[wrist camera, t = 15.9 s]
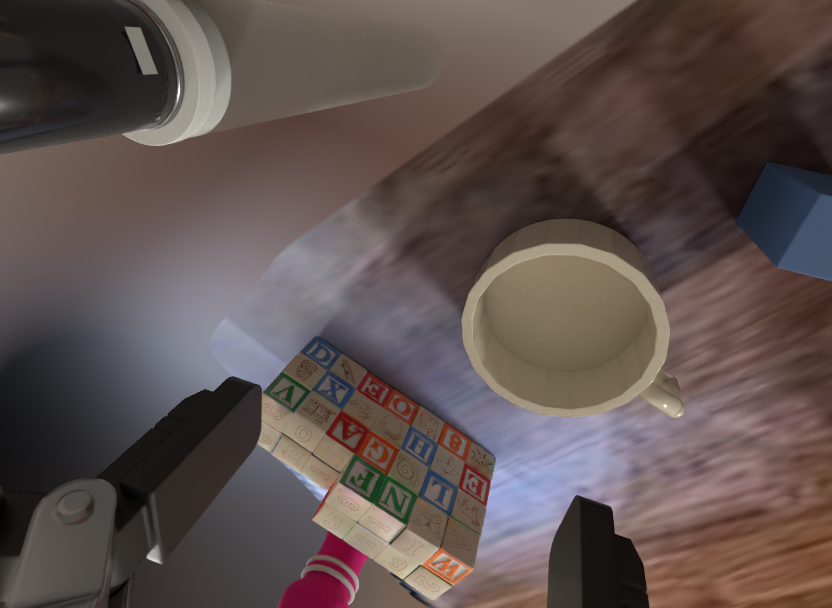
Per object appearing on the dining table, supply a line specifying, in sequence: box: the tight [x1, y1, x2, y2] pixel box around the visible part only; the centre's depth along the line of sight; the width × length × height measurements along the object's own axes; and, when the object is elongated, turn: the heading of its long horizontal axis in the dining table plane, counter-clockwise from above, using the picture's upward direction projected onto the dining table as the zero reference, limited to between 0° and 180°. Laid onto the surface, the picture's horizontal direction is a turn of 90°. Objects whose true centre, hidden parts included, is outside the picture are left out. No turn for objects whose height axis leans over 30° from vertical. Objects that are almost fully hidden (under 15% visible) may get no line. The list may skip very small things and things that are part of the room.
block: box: [736, 162, 832, 281], centre depth 27 cm, size 4×4×8 cm
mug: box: [461, 218, 685, 418], centre depth 35 cm, size 17×14×6 cm
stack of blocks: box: [257, 336, 496, 600], centre depth 43 cm, size 21×6×12 cm, turn 61°
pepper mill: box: [277, 531, 368, 608], centre depth 44 cm, size 7×7×20 cm
